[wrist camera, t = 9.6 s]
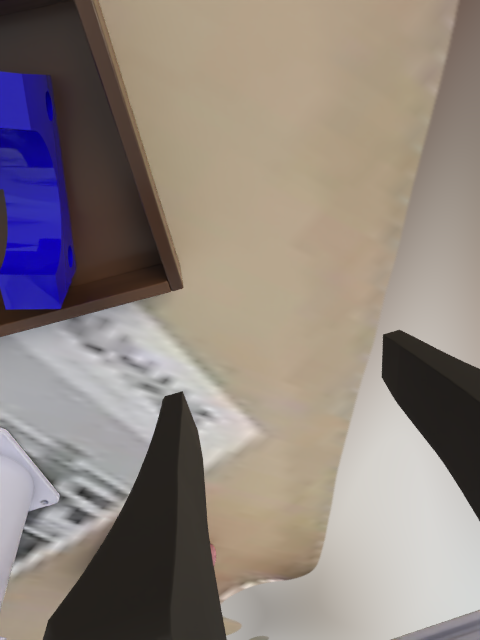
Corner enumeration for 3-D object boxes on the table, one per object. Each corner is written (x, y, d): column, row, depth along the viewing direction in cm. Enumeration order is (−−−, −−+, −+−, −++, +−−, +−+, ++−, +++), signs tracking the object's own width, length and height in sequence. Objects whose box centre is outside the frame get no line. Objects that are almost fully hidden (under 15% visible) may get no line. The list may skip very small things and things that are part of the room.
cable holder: (-55, 63, 14) (-119, 58, 10) (50, 75, 14) (21, 73, 11) (-4, 267, 18) (-38, 310, 15) (76, 268, 19) (60, 308, 15)
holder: (-13, 316, 20) (-34, 346, 17) (-203, 37, 13) (-276, 30, 11) (180, 265, 20) (183, 288, 18) (91, -24, 14) (79, -44, 11)
